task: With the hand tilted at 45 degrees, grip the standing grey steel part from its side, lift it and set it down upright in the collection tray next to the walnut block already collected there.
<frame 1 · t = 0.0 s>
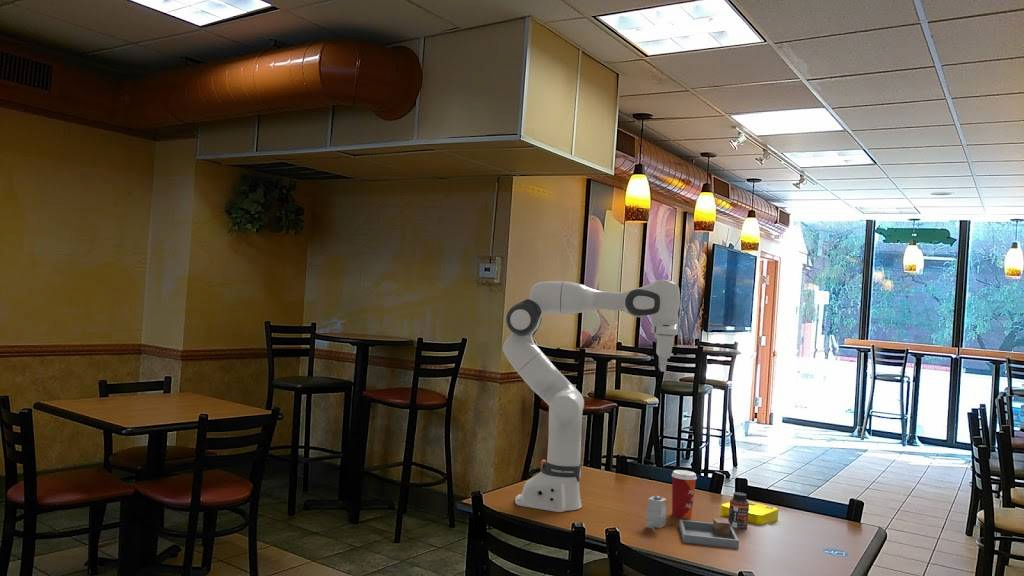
hand: (662, 370, 246), 48 cm above the table, tool pointing down, fingers open, 8 cm apart
walnut block: (721, 534, 226), point 1 cm above the table, touching tray
coffee cup: (681, 518, 244), on the table
tray: (707, 539, 222), on the table
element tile: (748, 519, 250), on the table
supplement bottle: (737, 529, 236), on the table
steel part: (655, 527, 232), on the table
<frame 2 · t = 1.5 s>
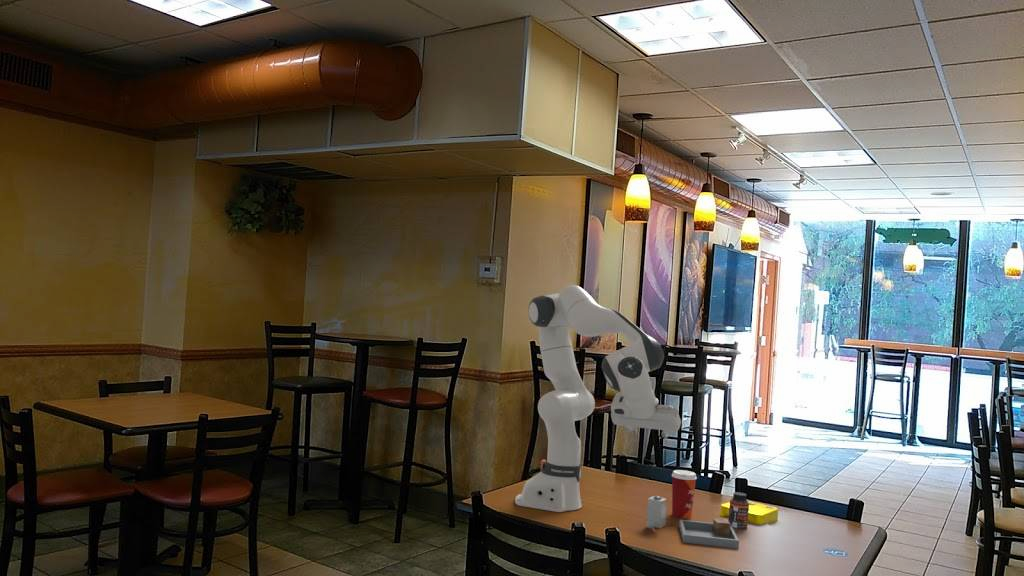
hand: (650, 434, 223), 30 cm above the table, tool tilted 45°, fingers open, 8 cm apart
nothing on the table moved.
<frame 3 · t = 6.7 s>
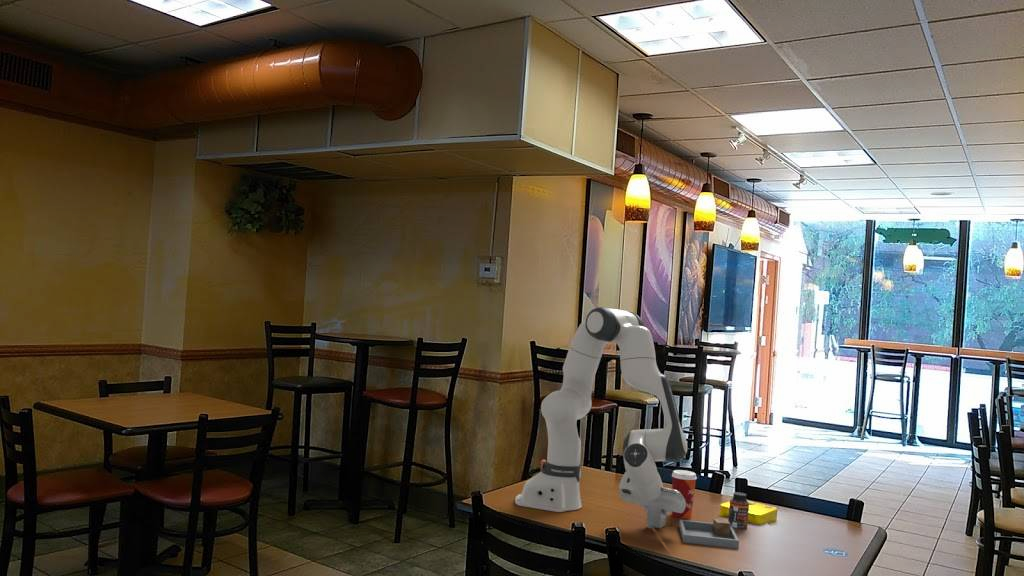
hand: (657, 511, 232), 5 cm above the table, tool tilted 45°, fingers closed on steel part, 4 cm apart
steel part: (655, 527, 232), on the table, touching gripper
everything else where it was.
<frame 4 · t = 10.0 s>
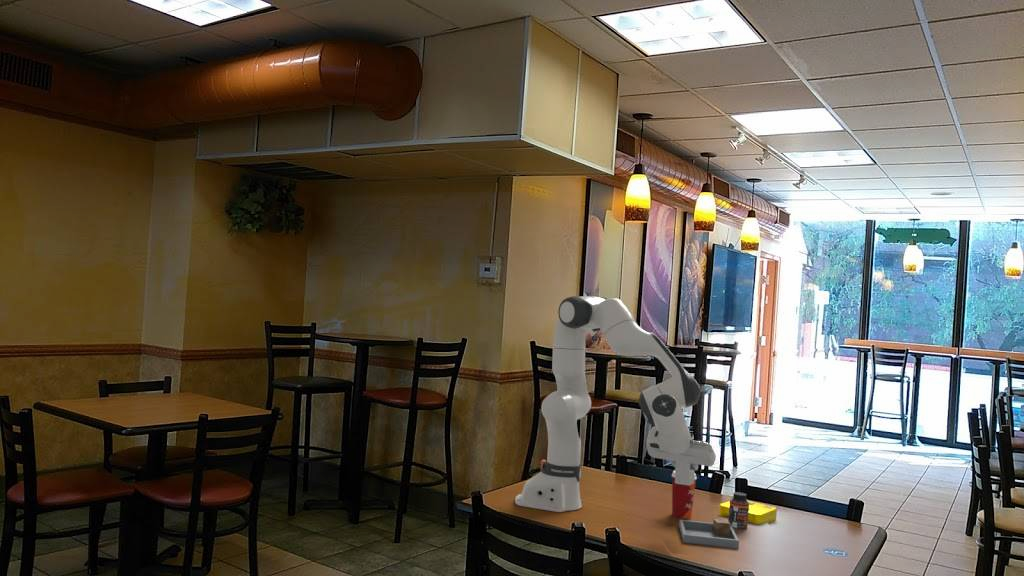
hand: (685, 466, 228), 20 cm above the table, tool tilted 45°, fingers closed on steel part, 4 cm apart
steel part: (684, 483, 227), point 15 cm above the table, touching gripper
everything else where it was.
when the fingers open (7 cm above the table, at t = 13.3 s): steel part drops 1 cm, resting on tray.
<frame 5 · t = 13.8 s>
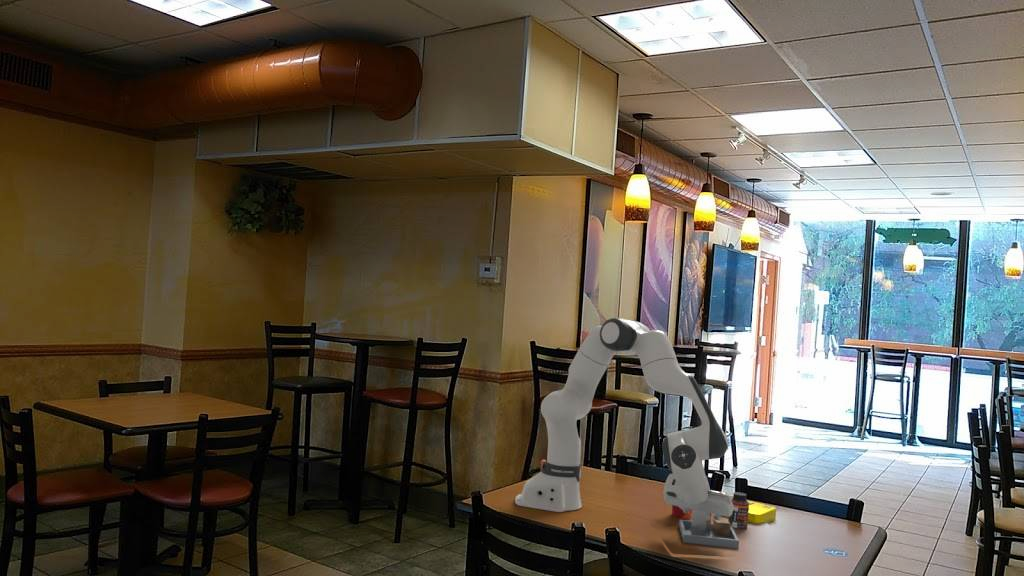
hand: (702, 514, 224), 7 cm above the table, tool tilted 45°, fingers open, 8 cm apart
steel part: (700, 535, 224), point 1 cm above the table, touching tray
everything else where it was.
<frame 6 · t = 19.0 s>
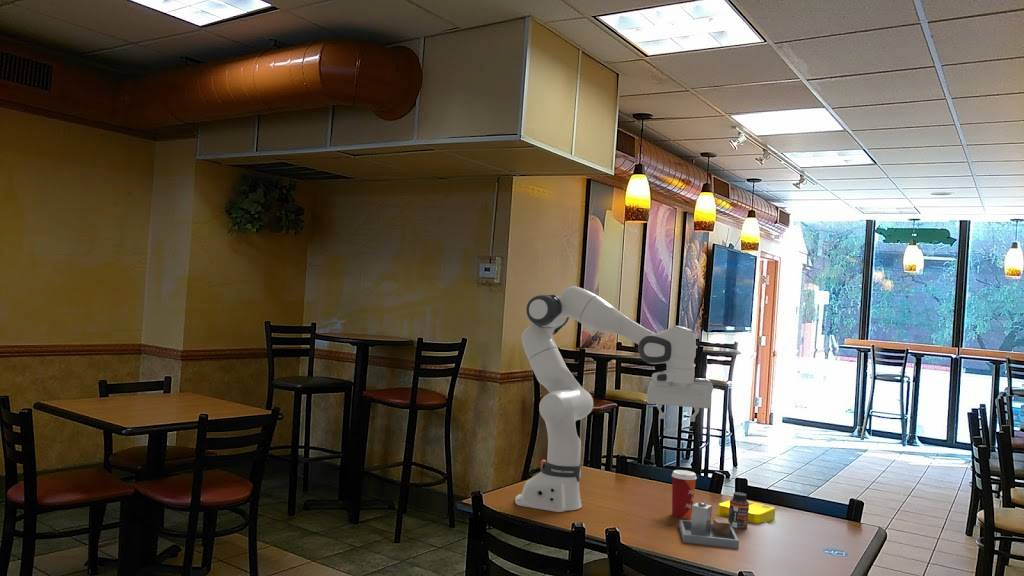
hand: (677, 420, 237), 33 cm above the table, tool pointing down, fingers open, 8 cm apart
at the end: steel part inside the target area on the tray (2.3 cm from its centre), point 0.8 cm above the tray's base; steel part tilted 0°; the gripper is holding nothing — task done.
